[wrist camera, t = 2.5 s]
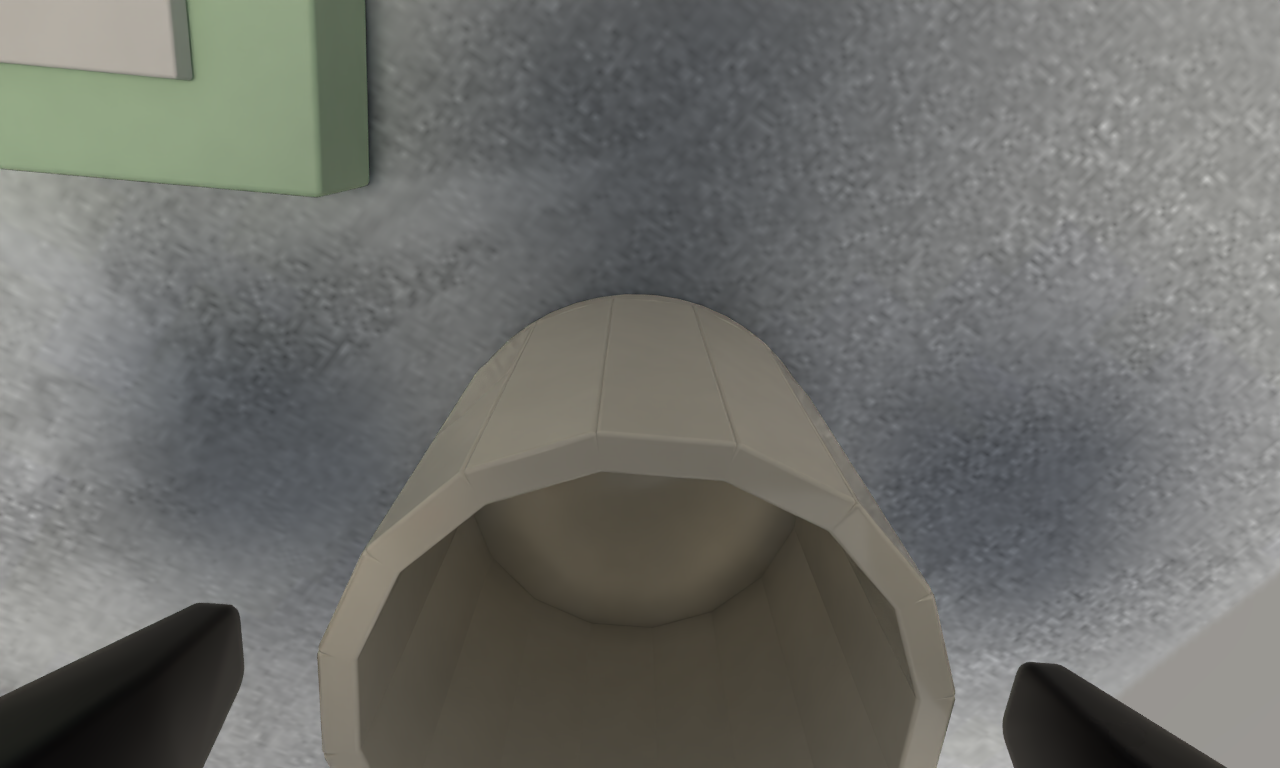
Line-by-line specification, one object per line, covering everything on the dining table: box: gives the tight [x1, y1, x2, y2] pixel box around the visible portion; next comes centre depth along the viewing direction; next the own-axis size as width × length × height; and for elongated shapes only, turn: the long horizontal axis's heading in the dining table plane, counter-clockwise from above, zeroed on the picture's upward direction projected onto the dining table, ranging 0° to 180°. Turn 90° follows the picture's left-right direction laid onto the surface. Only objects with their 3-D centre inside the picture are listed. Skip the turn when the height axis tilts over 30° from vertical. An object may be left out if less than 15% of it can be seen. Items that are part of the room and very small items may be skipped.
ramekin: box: [317, 294, 955, 768], centre depth 11 cm, size 6×6×6 cm
